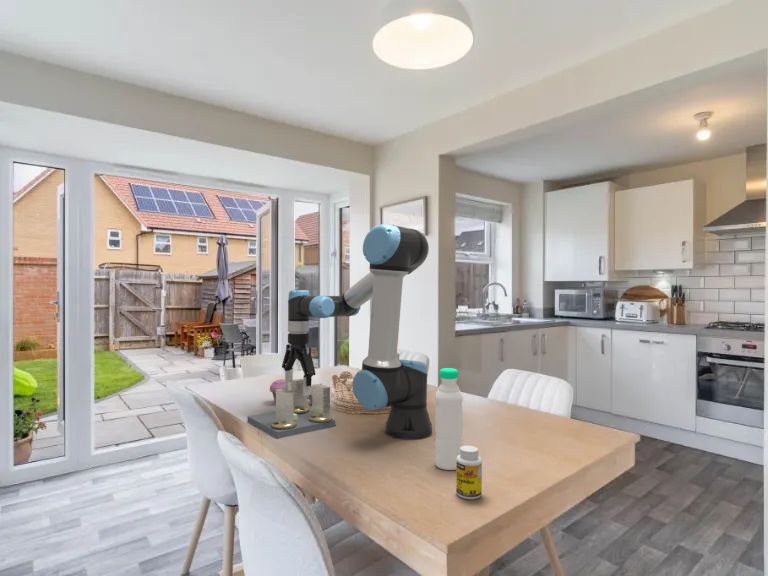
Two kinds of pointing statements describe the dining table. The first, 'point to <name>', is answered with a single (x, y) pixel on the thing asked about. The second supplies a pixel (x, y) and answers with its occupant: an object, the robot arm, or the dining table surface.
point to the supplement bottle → (468, 473)
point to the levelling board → (303, 426)
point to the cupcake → (277, 387)
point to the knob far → (298, 396)
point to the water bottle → (448, 420)
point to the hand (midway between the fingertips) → (297, 391)
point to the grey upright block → (320, 404)
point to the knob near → (284, 410)
